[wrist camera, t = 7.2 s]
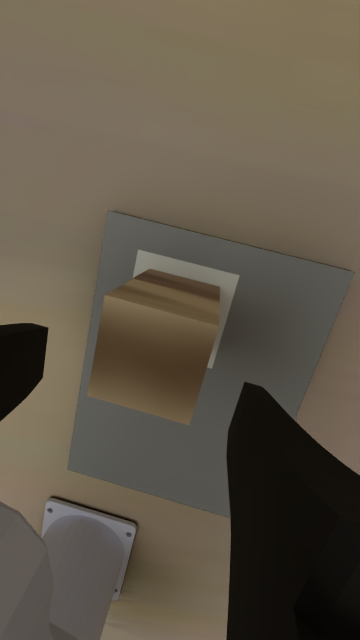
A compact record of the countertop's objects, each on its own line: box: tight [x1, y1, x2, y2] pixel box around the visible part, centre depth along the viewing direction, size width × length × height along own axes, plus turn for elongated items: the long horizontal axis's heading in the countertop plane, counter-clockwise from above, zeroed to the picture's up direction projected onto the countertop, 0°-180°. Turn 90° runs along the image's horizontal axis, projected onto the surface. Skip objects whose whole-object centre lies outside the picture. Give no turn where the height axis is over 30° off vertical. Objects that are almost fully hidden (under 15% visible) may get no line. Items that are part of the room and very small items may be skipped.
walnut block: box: [132, 269, 220, 302], centre depth 18 cm, size 4×4×4 cm
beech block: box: [87, 279, 220, 426], centre depth 14 cm, size 4×4×4 cm
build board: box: [67, 211, 354, 518], centre depth 22 cm, size 20×15×1 cm
